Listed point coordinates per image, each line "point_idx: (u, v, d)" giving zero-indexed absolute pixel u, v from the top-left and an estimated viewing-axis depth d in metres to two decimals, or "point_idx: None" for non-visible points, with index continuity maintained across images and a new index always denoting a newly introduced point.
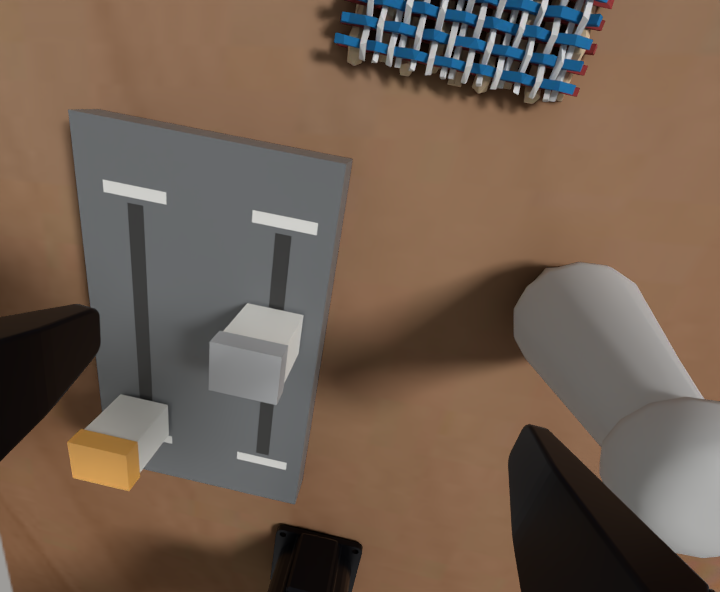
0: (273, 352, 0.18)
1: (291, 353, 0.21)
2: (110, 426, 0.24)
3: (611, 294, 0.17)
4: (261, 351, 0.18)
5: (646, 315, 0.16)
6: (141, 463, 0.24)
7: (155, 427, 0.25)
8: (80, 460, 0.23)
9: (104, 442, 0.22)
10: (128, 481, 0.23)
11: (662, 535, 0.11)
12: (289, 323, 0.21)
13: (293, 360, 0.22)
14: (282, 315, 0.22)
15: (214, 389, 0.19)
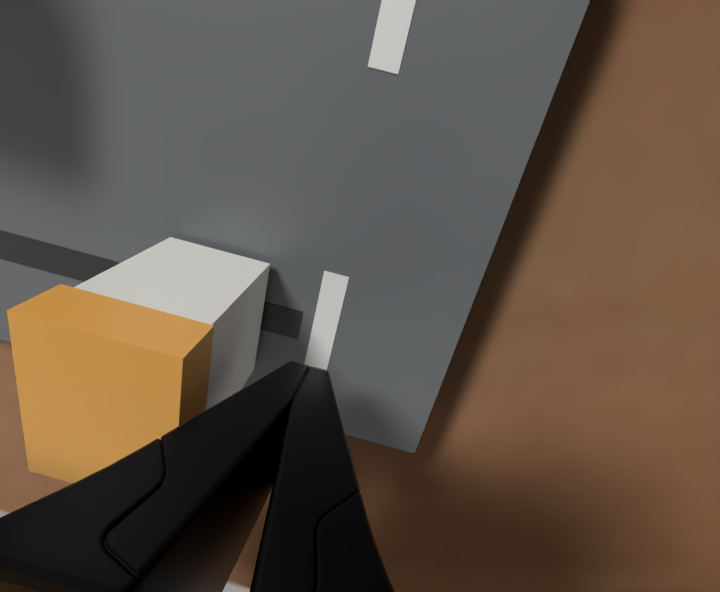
0: None
1: None
2: None
3: None
4: None
5: None
6: (185, 312, 0.07)
7: (158, 262, 0.09)
8: (89, 463, 0.07)
9: None
10: (136, 343, 0.06)
11: None
12: None
13: None
14: None
15: None
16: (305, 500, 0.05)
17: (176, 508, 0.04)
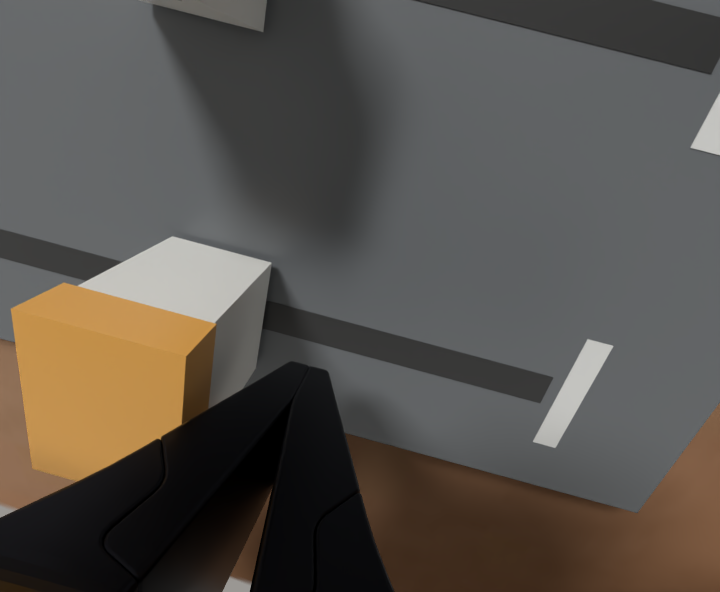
0: None
1: None
2: None
3: None
4: None
5: None
6: (187, 310, 0.07)
7: (160, 261, 0.09)
8: (93, 461, 0.07)
9: None
10: (140, 341, 0.06)
11: None
12: None
13: None
14: None
15: None
16: (305, 500, 0.05)
17: (176, 508, 0.04)
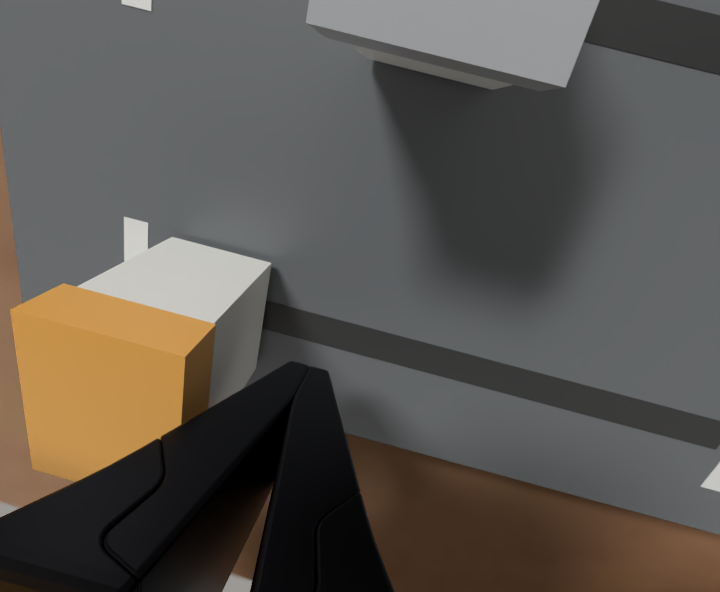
0: None
1: None
2: None
3: None
4: None
5: None
6: (187, 311, 0.07)
7: (160, 262, 0.09)
8: (92, 461, 0.07)
9: None
10: (140, 342, 0.06)
11: None
12: None
13: None
14: None
15: (570, 52, 0.04)
16: (305, 500, 0.05)
17: (176, 508, 0.04)
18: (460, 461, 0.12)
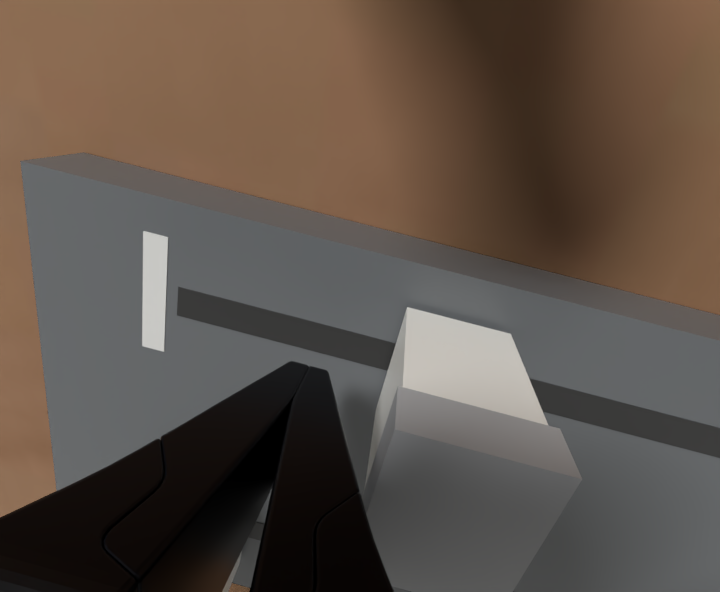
0: (388, 440, 0.06)
1: (467, 365, 0.08)
2: None
3: None
4: (379, 470, 0.06)
5: None
6: None
7: None
8: None
9: None
10: None
11: None
12: (400, 347, 0.09)
13: (505, 357, 0.09)
14: (395, 353, 0.10)
15: None
16: (305, 500, 0.05)
17: (176, 508, 0.04)
18: None
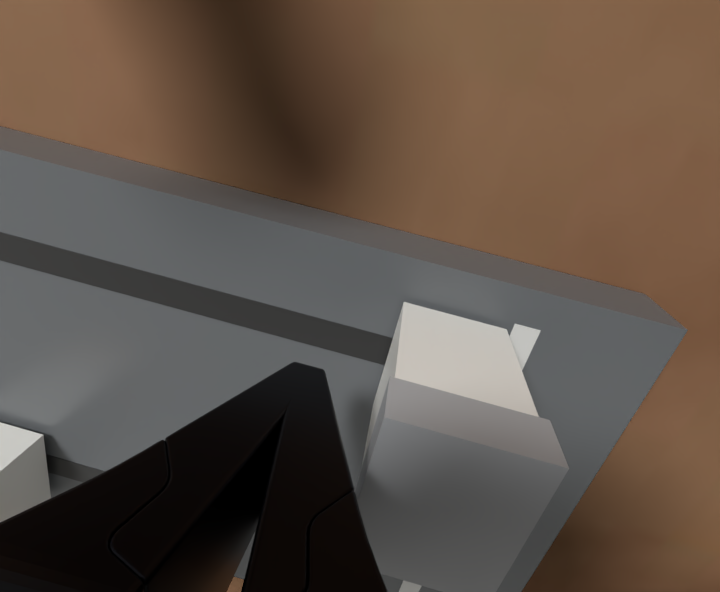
0: (379, 429, 0.06)
1: (460, 358, 0.08)
2: None
3: None
4: (370, 458, 0.06)
5: None
6: None
7: None
8: None
9: None
10: None
11: None
12: (395, 341, 0.09)
13: (500, 351, 0.09)
14: (391, 347, 0.10)
15: None
16: (299, 498, 0.05)
17: (182, 509, 0.04)
18: None
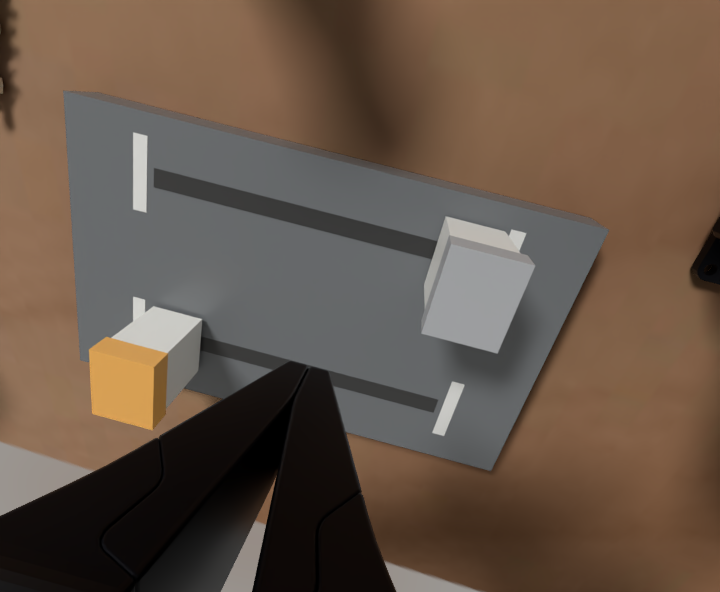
0: (446, 255, 0.13)
1: (481, 236, 0.15)
2: None
3: None
4: (441, 270, 0.13)
5: None
6: (157, 347, 0.17)
7: (146, 322, 0.19)
8: (118, 409, 0.17)
9: None
10: (137, 361, 0.16)
11: None
12: (443, 234, 0.16)
13: (502, 237, 0.16)
14: (438, 243, 0.17)
15: (498, 345, 0.14)
16: (307, 501, 0.05)
17: (174, 508, 0.04)
18: None
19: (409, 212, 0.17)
